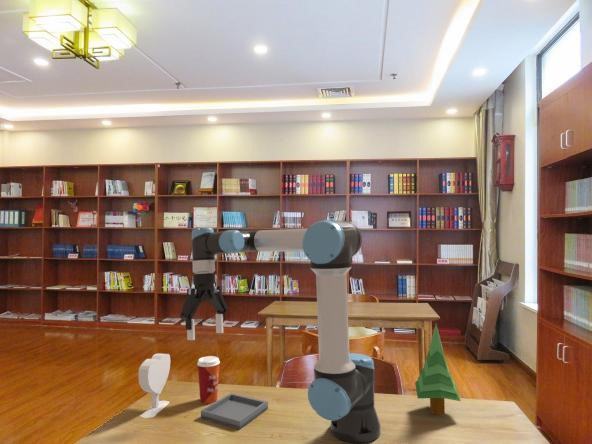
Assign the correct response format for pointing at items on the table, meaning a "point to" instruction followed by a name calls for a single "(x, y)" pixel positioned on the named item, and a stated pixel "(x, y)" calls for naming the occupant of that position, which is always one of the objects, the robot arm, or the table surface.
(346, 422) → the robot arm
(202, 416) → the tray
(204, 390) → the coffee cup
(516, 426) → the table surface
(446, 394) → the decorative tree
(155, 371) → the heart sculpture
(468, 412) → the table surface
